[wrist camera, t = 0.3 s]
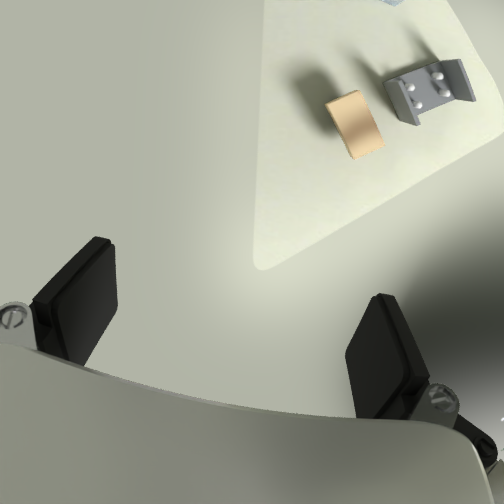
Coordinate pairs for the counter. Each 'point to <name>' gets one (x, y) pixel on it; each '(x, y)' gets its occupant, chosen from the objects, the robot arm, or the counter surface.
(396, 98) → the shelf frame
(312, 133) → the counter surface
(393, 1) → the medicine box
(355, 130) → the tan wooden block
